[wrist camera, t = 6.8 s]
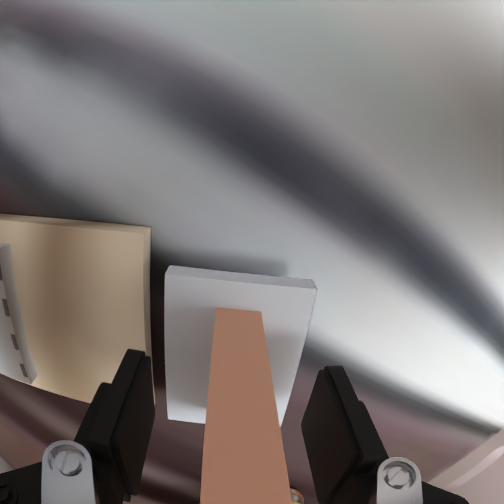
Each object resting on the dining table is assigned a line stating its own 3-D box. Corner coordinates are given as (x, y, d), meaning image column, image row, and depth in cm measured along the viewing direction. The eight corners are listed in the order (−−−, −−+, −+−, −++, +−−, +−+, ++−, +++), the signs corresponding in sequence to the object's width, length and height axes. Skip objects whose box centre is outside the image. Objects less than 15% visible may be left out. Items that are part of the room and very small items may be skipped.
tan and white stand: (311, 279, 11) (431, 509, 3) (278, 415, 13) (307, 588, 5) (169, 265, 11) (60, 509, 2) (170, 406, 13) (141, 583, 4)
